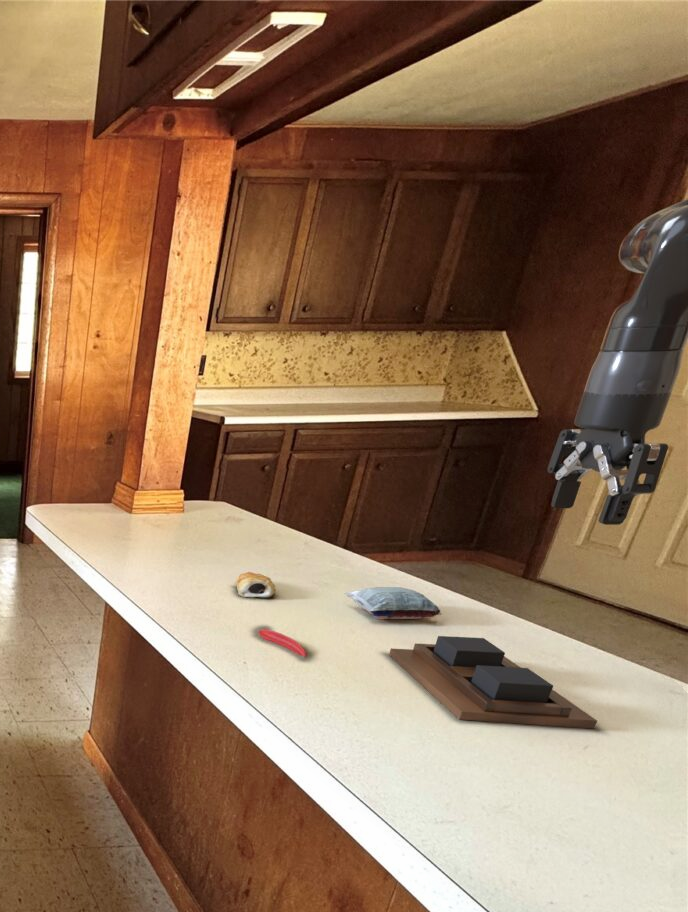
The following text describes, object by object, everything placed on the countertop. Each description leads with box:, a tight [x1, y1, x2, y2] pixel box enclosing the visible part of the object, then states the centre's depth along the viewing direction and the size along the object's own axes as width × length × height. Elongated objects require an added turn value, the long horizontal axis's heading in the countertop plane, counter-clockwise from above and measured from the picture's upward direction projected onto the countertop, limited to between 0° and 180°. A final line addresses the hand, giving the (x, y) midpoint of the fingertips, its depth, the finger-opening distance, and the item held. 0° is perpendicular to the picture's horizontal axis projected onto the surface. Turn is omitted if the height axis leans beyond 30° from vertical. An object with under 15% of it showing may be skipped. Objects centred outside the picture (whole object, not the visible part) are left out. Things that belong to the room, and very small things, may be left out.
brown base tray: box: [388, 643, 598, 730], centre depth 94 cm, size 15×19×2 cm
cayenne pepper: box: [258, 627, 309, 659], centre depth 109 cm, size 12×5×2 cm, turn 175°
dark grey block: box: [471, 665, 554, 703], centre depth 89 cm, size 6×5×4 cm
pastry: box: [235, 571, 276, 599], centre depth 130 cm, size 9×7×4 cm
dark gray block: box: [433, 635, 506, 667], centre depth 97 cm, size 6×5×4 cm
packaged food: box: [344, 586, 442, 620], centre depth 117 cm, size 9×12×5 cm
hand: (584, 515), depth 88 cm, fingers open, 8 cm apart
